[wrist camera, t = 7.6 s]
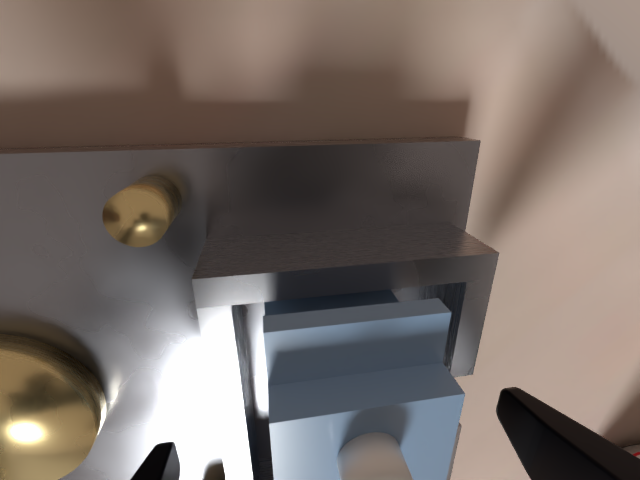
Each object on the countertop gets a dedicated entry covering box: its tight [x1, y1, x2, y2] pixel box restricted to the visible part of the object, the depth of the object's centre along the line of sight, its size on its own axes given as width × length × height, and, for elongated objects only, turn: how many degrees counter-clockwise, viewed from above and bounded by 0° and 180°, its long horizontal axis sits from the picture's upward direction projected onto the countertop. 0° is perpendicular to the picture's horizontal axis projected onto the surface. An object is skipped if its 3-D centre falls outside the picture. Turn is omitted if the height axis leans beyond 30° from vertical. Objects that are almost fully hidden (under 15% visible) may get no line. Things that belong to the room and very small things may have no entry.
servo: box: [263, 290, 465, 480], centre depth 9 cm, size 8×4×5 cm, turn 0°
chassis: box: [0, 137, 499, 480], centre depth 10 cm, size 14×18×3 cm
